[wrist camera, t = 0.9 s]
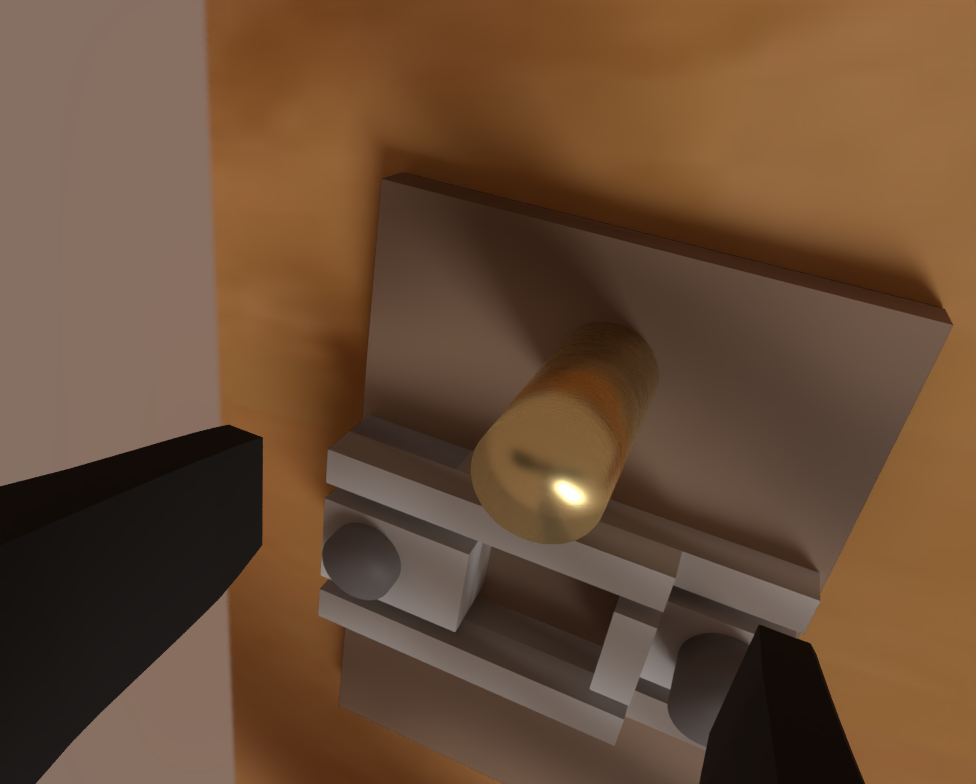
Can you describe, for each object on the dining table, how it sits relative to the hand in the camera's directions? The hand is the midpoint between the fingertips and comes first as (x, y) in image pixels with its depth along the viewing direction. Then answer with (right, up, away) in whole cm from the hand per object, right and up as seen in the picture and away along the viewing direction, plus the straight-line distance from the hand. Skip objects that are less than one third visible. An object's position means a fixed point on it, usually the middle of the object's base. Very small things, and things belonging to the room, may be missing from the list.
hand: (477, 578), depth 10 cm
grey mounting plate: (+2, -2, +10) cm, 11 cm away
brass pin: (+3, +3, +6) cm, 8 cm away
